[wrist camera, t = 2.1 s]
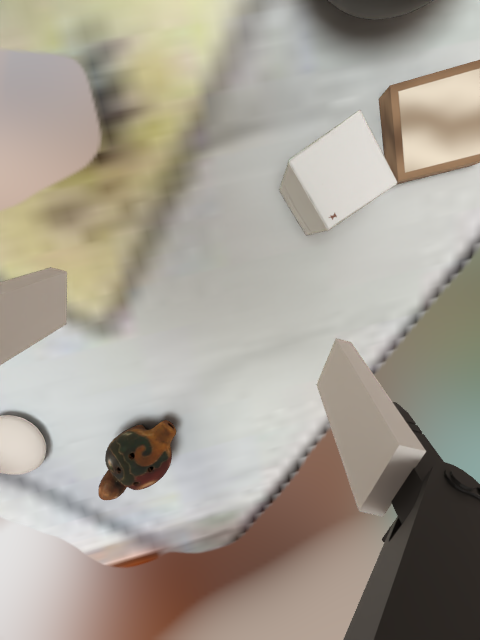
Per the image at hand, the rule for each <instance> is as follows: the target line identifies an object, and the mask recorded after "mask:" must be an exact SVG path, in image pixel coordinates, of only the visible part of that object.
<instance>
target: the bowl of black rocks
mask: <svg viewBox="0 0 480 640" xmlns="http://www.w3.org/2000/svg"><path fill="white" fill-rule="evenodd" d="M328 1H329V2H330V3H331V4H333V5H334V6H335V7H337V8H338V9H340V10H341V11H343V12H345V13H347V14H349V15H352V16H355V17H358V18H363V19H387V18H393V17H397V16H401V15H404V14H407V13H409V12H412V11H414V10H417V9H419V8H421V7H423V6H425V5H427V4H428V3H430V2H432V1H433V0H328Z"/></svg>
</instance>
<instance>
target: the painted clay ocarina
mask: <svg viewBox="0 0 480 640" xmlns="http://www.w3.org/2000/svg"><path fill="white" fill-rule="evenodd" d="M175 434H176V429H175V427H174V425H173V424H172V423H171V422H170V421H168V420H164V421H162V422H160V423H159V424H158V425H156V426H155V427H154V428H152V429H150V430H146V429H145V427H144V426H143V425H137V426H135V427H132V428H130V429H128V430H126V431H125V432H123V433H121V434H120V435H119V436H117V437H116V438H115V439H114V440H113V441H112V442H111V443H110V445H109V447H108V448H107V451H106V457H105V461H106V465H107V467H108V469H109V470H108V471H107V473H106V474H105V475H104V477H103V479H102V480H101V483H100V485H99V497H100V498H101V499H103V500H112V499H115V498H117V497H119V496H120V495H121V494H122V493H123V492H124V491H125V489H126V488H127V487H129V488H131V489H133V490H140V489H144V488H147V487H149V486H151V485H153V484H154V483H156V482H157V481H158V480H160V479H161V478H162V477H163V476H164V474H165V473H166V472H167V470H168V468H169V466H170V464H171V459H172V454H171V447H170V443H171V441H172V439H173V437H174V436H175Z"/></svg>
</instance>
